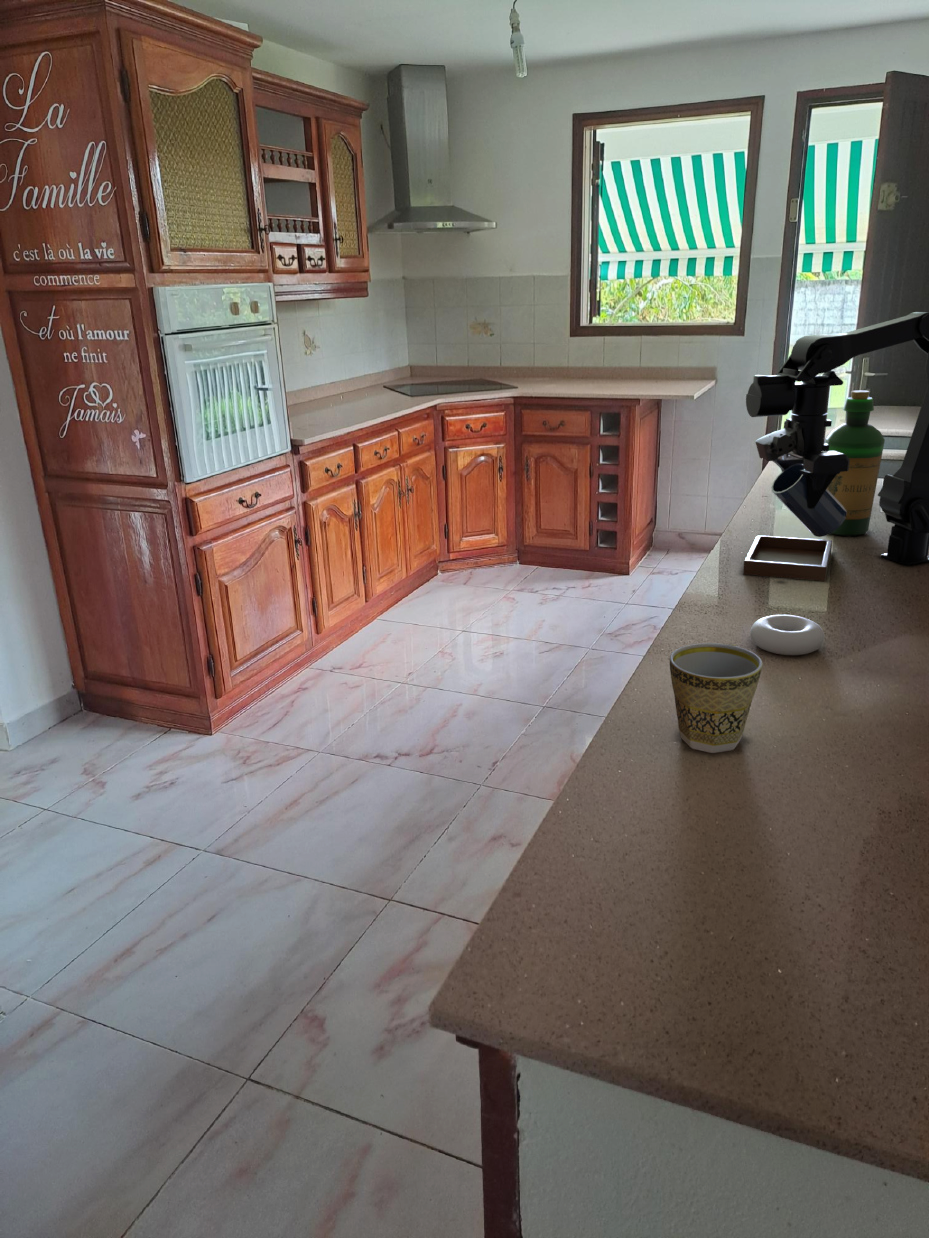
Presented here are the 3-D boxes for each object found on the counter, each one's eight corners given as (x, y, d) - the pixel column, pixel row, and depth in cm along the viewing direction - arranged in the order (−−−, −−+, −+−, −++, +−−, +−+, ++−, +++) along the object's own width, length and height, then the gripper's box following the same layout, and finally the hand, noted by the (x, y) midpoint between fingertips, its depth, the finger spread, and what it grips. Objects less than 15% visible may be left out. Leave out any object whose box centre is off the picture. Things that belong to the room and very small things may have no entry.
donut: (824, 662, 120) (822, 635, 129) (826, 639, 119) (824, 613, 128) (747, 656, 124) (750, 629, 132) (749, 633, 122) (752, 608, 131)
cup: (844, 501, 157) (803, 456, 153) (849, 522, 152) (807, 476, 148) (810, 522, 161) (769, 479, 157) (814, 543, 156) (772, 499, 152)
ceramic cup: (741, 768, 95) (748, 684, 92) (653, 747, 100) (656, 667, 97) (772, 719, 105) (779, 642, 102) (690, 703, 110) (694, 629, 107)
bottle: (816, 536, 177) (830, 394, 167) (817, 523, 186) (831, 388, 177) (873, 540, 173) (892, 394, 164) (872, 526, 183) (889, 388, 173)
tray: (756, 548, 172) (757, 535, 171) (830, 553, 166) (832, 540, 166) (743, 574, 157) (744, 560, 156) (824, 581, 152) (826, 567, 151)
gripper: (740, 409, 157) (735, 495, 162) (789, 424, 140) (781, 519, 145) (800, 406, 158) (792, 491, 164) (856, 419, 141) (845, 515, 146)
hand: (800, 503), depth 155 cm, fingers closed on cup, 7 cm apart
